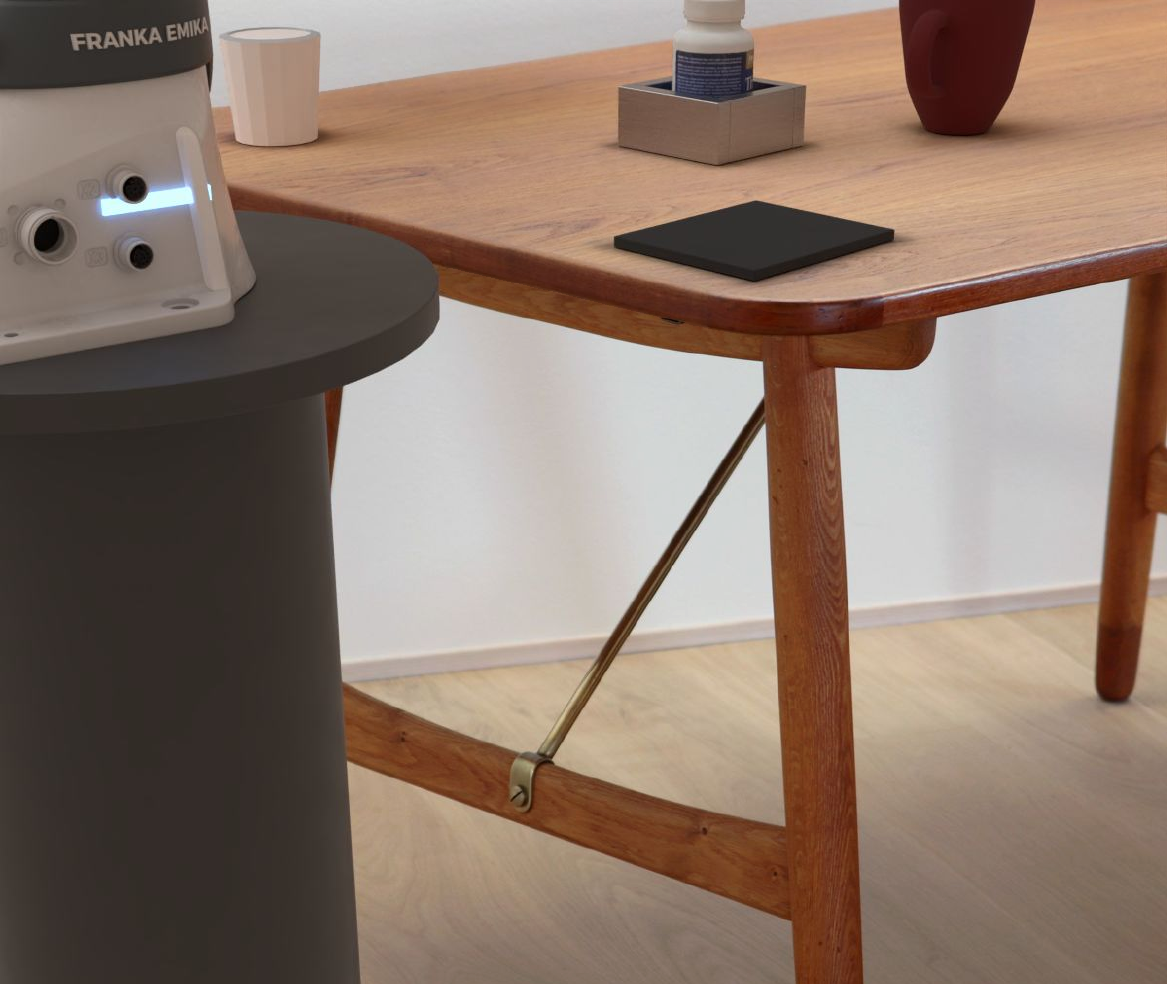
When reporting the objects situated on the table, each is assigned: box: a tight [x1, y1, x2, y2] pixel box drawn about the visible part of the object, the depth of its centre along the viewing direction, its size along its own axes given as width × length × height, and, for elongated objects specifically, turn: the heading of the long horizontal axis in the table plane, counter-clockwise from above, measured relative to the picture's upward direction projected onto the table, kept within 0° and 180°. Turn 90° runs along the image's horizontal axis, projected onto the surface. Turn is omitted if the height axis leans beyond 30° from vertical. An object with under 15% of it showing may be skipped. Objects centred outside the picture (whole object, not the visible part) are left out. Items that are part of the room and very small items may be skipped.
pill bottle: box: [671, 0, 755, 98], centre depth 124 cm, size 5×5×10 cm
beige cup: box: [218, 26, 322, 147], centre depth 128 cm, size 7×7×7 cm
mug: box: [898, 0, 1036, 136], centre depth 128 cm, size 12×9×11 cm
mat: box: [613, 199, 896, 282], centre depth 103 cm, size 12×10×1 cm
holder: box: [617, 75, 807, 166], centre depth 126 cm, size 9×9×4 cm
